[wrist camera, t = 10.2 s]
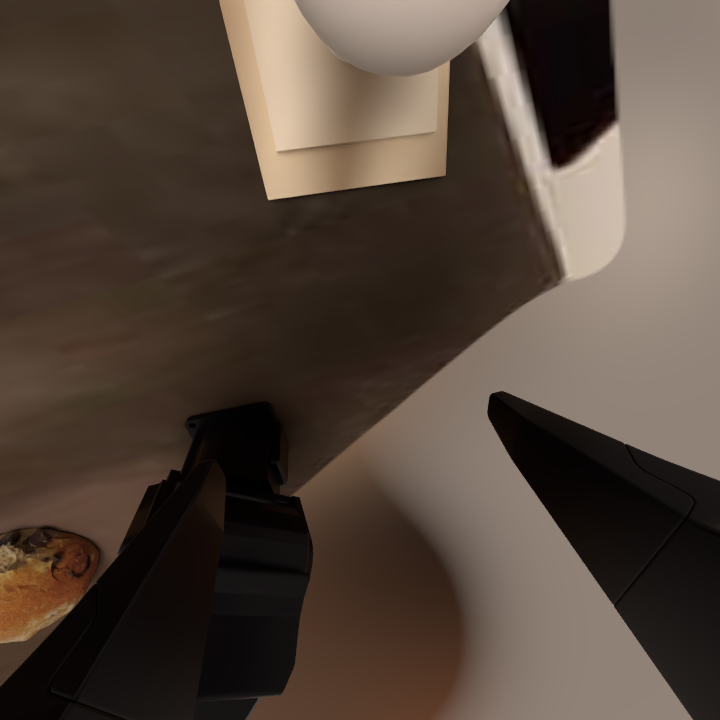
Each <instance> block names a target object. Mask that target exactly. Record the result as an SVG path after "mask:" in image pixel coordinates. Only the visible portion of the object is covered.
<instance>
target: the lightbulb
mask: <svg viewBox="0 0 720 720" xmlns="http://www.w3.org/2000/svg"><path fill="white" fill-rule="evenodd" d="M295 2H296V4H297V6H298V8H299V10H300V12H301V13H302V15H303V16H304V18H305V19H306V21H307V22H308V23H309V25H310V26H311V27H312V29H313V30H314V31H315V33H316V34H317V35H318V37H319V38H320V39H321V40H322V41H323V42H324V43H325V44H326V46H327V47H328V49H329V50H330V51H331V53H332V54H334V55H335V56H336V57H337V58H338V59H340V60H342V61H344V62H348V63H350V64H352V65H353V66H355V67H357V68H358V69H360V70H364V71H367V72H370V73H373V74H376V75H380V76H401V77H409V76H413V75H417V74H421V73H425V72H429V71H431V70H433V69H435V68H437V67H439V66H441V65H442V64H444V63H446V62H448V61H450V60H452V59H453V58H454V57H456V56H457V55H459V54H460V53H461V52H462V51H464V50H465V49H466V48H467V47H468V46H470V45H471V44H472V43H473V42H474V41H475V40H477V39H478V38H479V37H480V36H481V35H482V34H483V33H484V32H485V31H486V29H487V28H488V27H489V26H490V25H491V23H492V22H493V21H494V20H495V18H496V17H497V16H498V15H499V14H500V12H501V11H502V10H503V8H504V7H505V6H506V4H507V3H508V2H509V0H295Z"/></svg>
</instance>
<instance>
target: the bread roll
mask: <svg viewBox="0 0 720 720" xmlns="http://www.w3.org/2000/svg"><path fill="white" fill-rule="evenodd" d="M98 559H99V552H98V550H97V549H96V548H95V546H94V545H93V544H92V543H91V542H89V541H88V540H86V539H84V538H82V537H80V536H78V535H75V534H71V533H65V532H59V531H55V530H50V529H48V530H44V529H38V528H31V529H25V530H16V531H14V532H10V533H5V534H1V535H0V643H7V642H17V641H25V640H27V639H29V638H31V637H32V636H33V635H34V634H35V633H37V632H38V631H39V630H40V629H43V628H45V627H46V626H48V625H50V624H51V623H53V622H54V621H56V620H58V619H59V618H60V617H62V616H63V615H65V614H67V613H69V612H70V611H71V610H72V609H73V608H74V607H75V606H76V605H77V603H78V602H79V601H80V600H81V599H82V598H83V596H84V595H85V592H86V590H87V588H88V586H89V584H90V582H91V579H92V577H93V575H94V573H95V571H96V567H97V562H98Z"/></svg>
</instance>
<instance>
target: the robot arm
mask: <svg viewBox="0 0 720 720" xmlns="http://www.w3.org/2000/svg"><path fill="white" fill-rule="evenodd" d="M262 408H266V410H263V409H262ZM488 417H489V420H490V421H491V423H492V425H493V427H494V429H495V431H496V432H497V434H498V436H499V438H500V440H501V441H502V443H503V445H504V447H505V449H506V450H507V452H508V454H509V455H510V457H511V459H512V460H513V462H514V463H515V465H516V466H517V467H518V469H519V471H520V472H521V473H522V475H523V476H524V478H525V479H526V481H527V482H528V483H529V485H530V486H531V488H532V489H533V491H534V492H535V493H536V495H537V496H538V498H539V499H540V501H541V502H542V504H543V505H544V506H545V508H546V509H547V510H548V512H549V513H550V515H551V516H552V518H553V519H554V521H555V522H556V524H557V525H558V527H559V528H560V529H561V531H562V532H563V533H564V535H565V537H566V538H567V539H568V541H569V542H570V544H571V545H572V547H573V548H574V549H575V551H576V552H577V554H578V555H579V557H580V558H581V559H582V561H583V562H584V564H585V565H586V567H587V568H588V570H589V571H590V572H591V574H592V575H593V577H594V578H595V580H596V581H597V582H598V584H599V585H600V587H601V588H602V590H603V591H604V592H605V594H606V595H607V597H608V598H609V600H610V601H611V602H612V604H614V607H615V609H616V610H617V611H618V613H619V614H620V616H621V617H622V619H623V620H624V621H625V623H626V624H627V626H628V627H629V629H630V630H631V631H632V633H633V634H634V636H635V637H636V639H637V640H638V641H639V643H640V644H641V646H642V647H643V649H644V650H645V652H646V653H647V654H648V656H649V657H650V659H651V660H652V662H653V663H654V664H655V666H656V667H657V669H658V670H659V672H660V673H661V674H662V676H663V677H664V679H665V680H666V682H667V683H668V684H669V686H670V687H671V689H672V690H673V692H674V693H675V694H676V696H677V697H678V699H679V700H680V702H681V703H682V705H683V706H684V707H685V709H686V710H687V712H688V713H689V714H690V716H691V717H692V719H693V720H720V481H719V480H716V479H714V478H711V477H708V476H706V475H703V474H700V473H697V472H695V471H692V470H689V469H687V468H684V467H682V466H679V465H676V464H674V463H671V462H668V461H665V460H663V459H661V458H659V457H656V456H654V455H651V454H649V453H647V452H644V451H641V450H639V449H637V448H635V447H632V446H630V445H628V444H625V445H624V443H623V442H620V441H618V440H616V439H614V438H611V437H609V436H606V435H604V434H602V433H599V432H597V431H595V430H593V429H590V428H588V427H586V426H583V425H581V424H578V423H576V422H574V421H572V420H569V419H567V418H564V417H562V416H560V415H558V414H555V413H553V412H551V411H548V410H546V409H544V408H541V407H539V406H537V405H534V404H532V403H529V402H527V401H525V400H522V399H520V398H518V397H516V396H513V395H511V394H509V393H506V392H504V391H500V392H496V393H492V394H491V395H490V397H489V404H488ZM191 423H194V424H191ZM185 427H186V429H187V430H188V432H189V434H190V435H191V437H192V439H193V441H192V444H191V447H190V449H189V452H188V454H187V457H186V460H185V462H184V465H183V468H182V470H181V471H176V470H172V469H171V471H170V473H169V475H168V477H167V479H166V480H162V482H161V483H159V484H155V485H152V486H148V488H147V491H146V493H145V495H144V497H143V499H142V501H141V503H140V505H139V508H138V510H137V512H136V514H135V516H134V518H133V520H132V523H131V525H130V527H129V529H128V531H127V534H126V536H125V538H124V540H123V542H122V545H121V547H120V549H119V551H118V555H119V556H118V557H117V558H116V559H115V561H114V562H113V563H112V564H111V565H110V566H109V568H108V569H107V570H106V571H105V572H104V573H103V575H102V576H101V577H100V578H99V579H98V580H97V583H96V584H94V585H93V586H92V587H91V588H90V590H89V591H88V592H87V593H86V594H85V595H84V596H83V598H82V599H81V600H80V601H79V602H78V603H77V605H76V606H75V607H74V608H73V609H72V610H71V611H70V612H69V614H68V615H67V616H66V617H65V618H64V619H63V620H62V621H61V623H60V624H59V625H58V626H57V627H56V628H55V629H54V630H53V631H52V633H51V634H50V635H49V636H48V637H47V638H46V639H45V640H44V641H43V642H42V643H41V644H40V645H39V646H38V648H37V649H36V650H35V651H34V652H33V653H32V654H31V655H30V656H29V657H28V658H27V659H26V660H25V661H24V662H23V664H22V665H21V666H20V667H19V668H18V669H17V670H16V671H15V672H14V673H13V674H12V675H11V676H10V677H9V678H8V679H7V680H6V681H5V682H4V683H3V684H2V686H1V687H0V720H247V719H248V718H249V716H250V714H251V713H252V711H253V710H254V708H255V706H256V705H257V703H258V702H259V700H260V698H261V697H269V696H270V697H271V696H279V695H281V693H282V692H283V691H284V689H285V686H286V684H287V682H288V679H289V677H290V675H291V673H292V670H293V667H294V664H295V656H296V647H297V637H298V628H299V620H300V614H301V610H302V604H303V599H304V596H305V593H306V589H307V586H308V583H309V580H310V573H311V568H312V561H313V545H312V540H311V536H310V533H309V529H308V526H307V522H306V519H305V516H304V512H303V508H302V505H301V501H300V498H299V497H295V496H291V497H289V496H284V495H280V486H283V485H286V483H287V482H288V441H287V438H286V436H285V433H284V430H283V427H282V424H280V423H279V422H278V423H277V422H276V419H275V416H274V413H273V411H272V408H271V405H270V404H269V403H266V402H262V403H258V404H253V405H248V406H243V407H238V408H233V409H228V410H223V411H218V412H214V413H209V414H204V415H199V416H194V417H190V418H188V419H187V421H186V423H185ZM180 472H181V473H180Z"/></svg>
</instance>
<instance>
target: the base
mask: <svg viewBox="0 0 720 720" xmlns="http://www.w3.org/2000/svg"><path fill="white" fill-rule="evenodd" d="M219 2H220V6H221V10H222V14H223V18H224V22H225V26H226V30H227V34H228V39H229V43H230V47H231V51H232V55H233V59H234V63H235V67H236V71H237V75H238V79H239V83H240V87H241V92H242V96H243V100H244V104H245V108H246V112H247V116H248V120H249V124H250V128H251V132H252V136H253V140H254V144H255V149H256V153H257V157H258V161H259V165H260V169H261V173H262V177H263V181H264V185H265V189H266V193H267V197H268V200H273V199H280V198H288V197H295V196H302V195H309V194H316V193H324V192H331V191H338V190H345V189H352V188H360V187H367V186H374V185H381V184H388V183H396V182H403V181H410V180H417V179H424V178H432V177H439V176H446V151H447V124H448V97H449V71H450V61H448V62H446V63H444V64H442V65H441V66H439V67H437V68H435V69H433V70H431V71H429V72H425V73H421V74H417V75H413V76H409V77H401V76H380V75H376V74H373V73H370V72H367V71H364V70H360V69H358V68H357V67H355V66H353V65H352V64H350V63H348V62H344V61H342V60H340V59H338V58H337V57H336V56H335V55H334V54H332V53H331V51H330V50H329V49H328V47H327V46H326V44H325V43H324V42H323V41H322V40H321V39H320V38H319V37H318V35H317V34H316V33H315V31H314V30H313V29H312V27H311V26H310V25H309V23H308V22H307V21H306V19H305V18H304V16H303V15H302V13H301V12H300V10H299V8H298V6H297V4H296V2H295V0H219Z"/></svg>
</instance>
